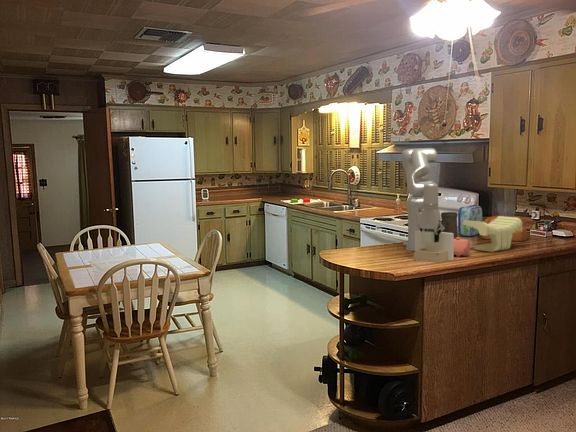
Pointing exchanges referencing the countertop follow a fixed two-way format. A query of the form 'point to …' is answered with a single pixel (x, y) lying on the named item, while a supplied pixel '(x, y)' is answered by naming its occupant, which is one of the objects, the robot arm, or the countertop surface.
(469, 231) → the lunch box
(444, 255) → the beige slab with panel
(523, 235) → the bread
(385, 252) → the countertop surface
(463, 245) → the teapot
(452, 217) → the beer stein
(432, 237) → the cabinet box
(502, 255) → the countertop surface
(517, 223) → the slatted curved stool
